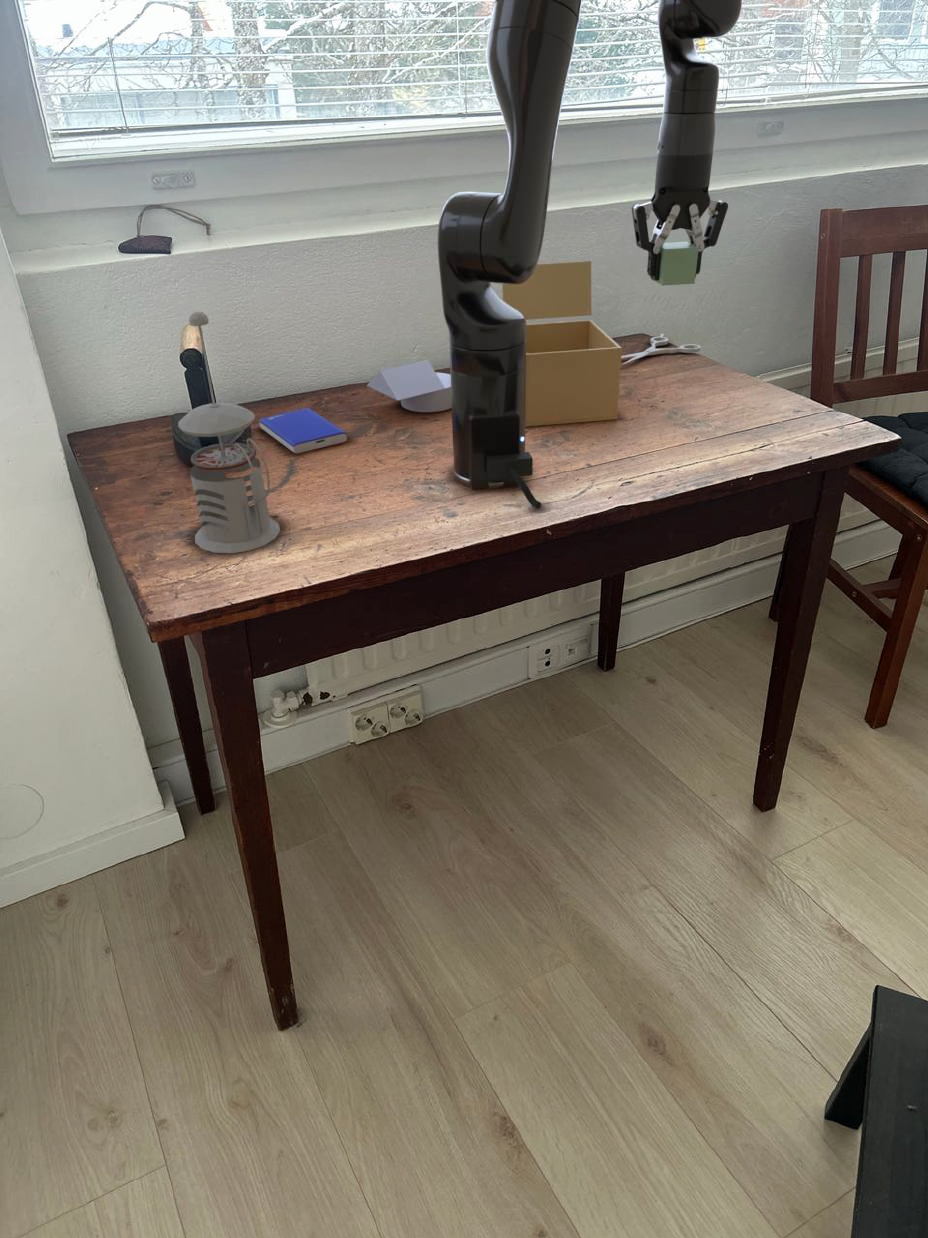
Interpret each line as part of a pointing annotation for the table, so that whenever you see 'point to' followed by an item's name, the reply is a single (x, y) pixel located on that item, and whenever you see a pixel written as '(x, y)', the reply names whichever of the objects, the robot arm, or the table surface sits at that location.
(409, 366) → the wedge on round base
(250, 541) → the french press
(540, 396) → the carton
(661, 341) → the scissors
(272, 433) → the hard drive
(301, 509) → the table surface
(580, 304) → the flap
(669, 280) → the block
